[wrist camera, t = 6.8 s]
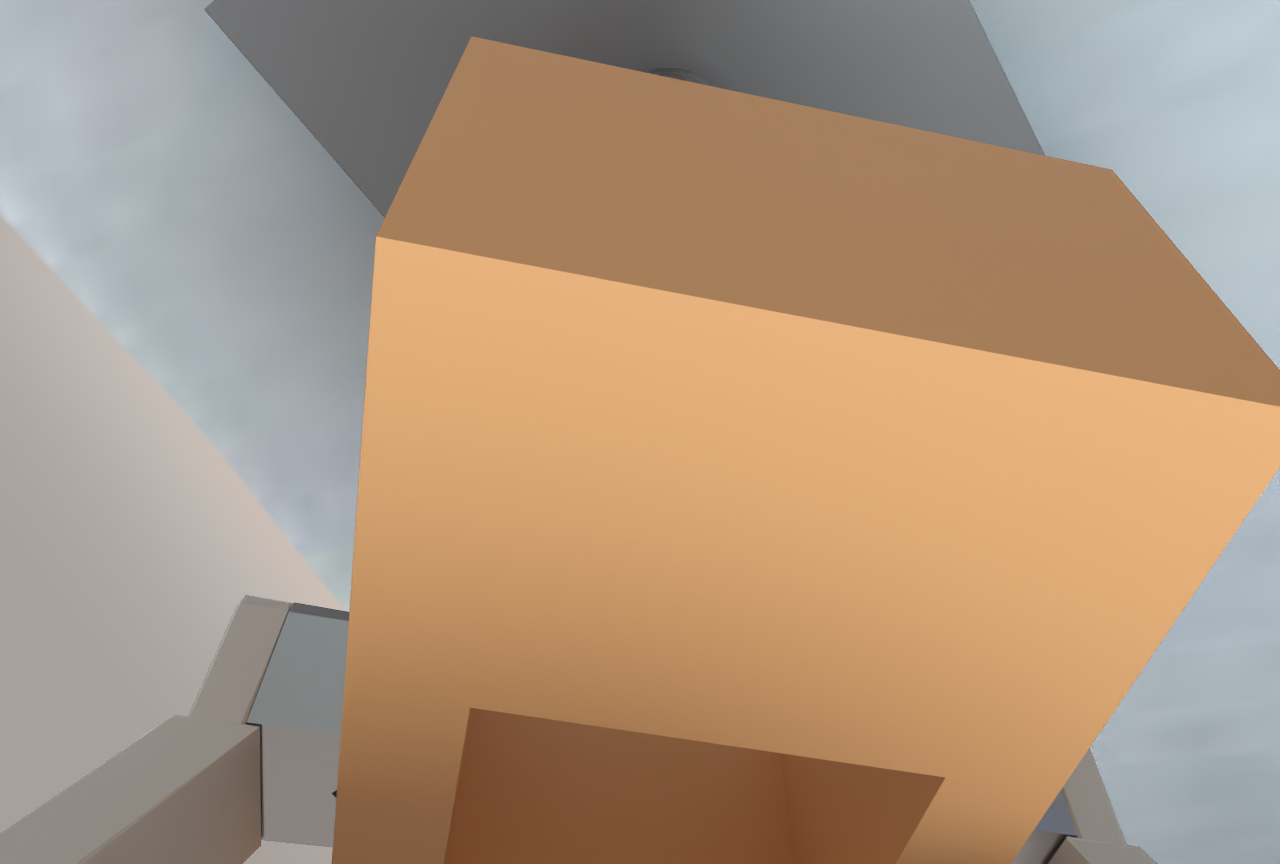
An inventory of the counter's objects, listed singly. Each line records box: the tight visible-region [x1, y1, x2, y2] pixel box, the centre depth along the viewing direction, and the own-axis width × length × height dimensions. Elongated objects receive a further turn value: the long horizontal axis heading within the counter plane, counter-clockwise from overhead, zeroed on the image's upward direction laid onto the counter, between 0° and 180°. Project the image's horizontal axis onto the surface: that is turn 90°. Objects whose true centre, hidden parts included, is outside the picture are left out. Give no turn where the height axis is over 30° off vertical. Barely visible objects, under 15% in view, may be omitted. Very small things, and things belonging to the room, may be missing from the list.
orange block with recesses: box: [332, 36, 1280, 864], centre depth 12 cm, size 12×6×4 cm, turn 169°
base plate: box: [204, 0, 1045, 217], centre depth 27 cm, size 16×14×2 cm
